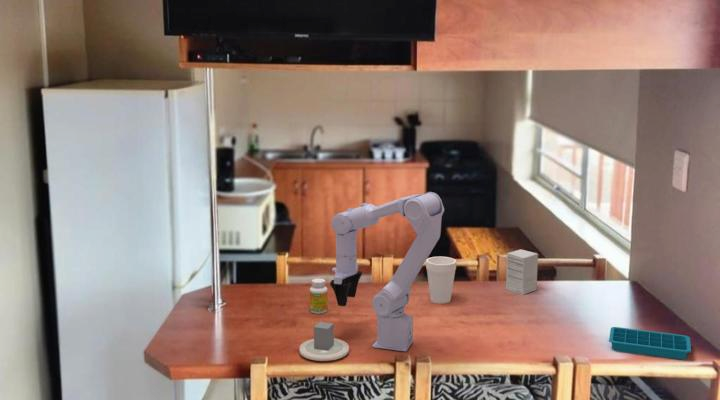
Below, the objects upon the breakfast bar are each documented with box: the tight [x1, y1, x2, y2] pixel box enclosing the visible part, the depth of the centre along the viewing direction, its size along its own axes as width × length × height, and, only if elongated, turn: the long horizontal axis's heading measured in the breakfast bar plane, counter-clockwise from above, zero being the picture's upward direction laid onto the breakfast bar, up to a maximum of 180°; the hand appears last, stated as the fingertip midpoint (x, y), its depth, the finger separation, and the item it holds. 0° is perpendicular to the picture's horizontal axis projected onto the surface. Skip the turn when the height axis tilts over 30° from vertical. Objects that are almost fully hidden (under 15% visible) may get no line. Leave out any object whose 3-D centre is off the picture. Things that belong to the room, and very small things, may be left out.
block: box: [313, 321, 335, 350], centre depth 203 cm, size 4×4×6 cm
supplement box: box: [505, 248, 539, 296], centre depth 252 cm, size 7×7×13 cm
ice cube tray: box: [608, 326, 692, 361], centre depth 206 cm, size 12×20×3 cm, turn 69°
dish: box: [299, 337, 350, 362], centre depth 203 cm, size 13×13×2 cm
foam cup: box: [425, 255, 457, 305], centre depth 242 cm, size 10×9×13 cm
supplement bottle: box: [309, 278, 329, 315], centre depth 234 cm, size 5×5×10 cm
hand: (346, 301), depth 215 cm, fingers open, 7 cm apart
